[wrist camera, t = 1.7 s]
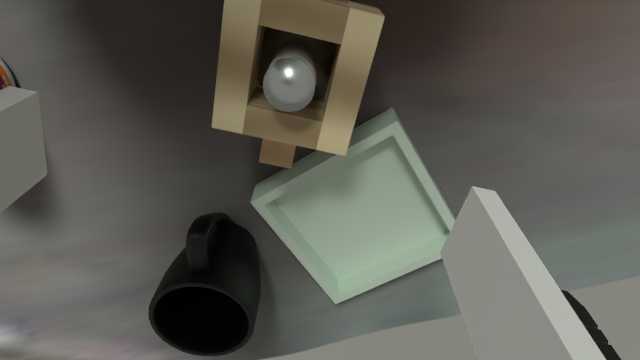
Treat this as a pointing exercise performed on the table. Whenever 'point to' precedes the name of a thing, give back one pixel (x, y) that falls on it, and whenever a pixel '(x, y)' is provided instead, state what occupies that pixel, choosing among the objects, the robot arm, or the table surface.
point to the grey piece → (294, 68)
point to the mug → (209, 290)
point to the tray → (358, 210)
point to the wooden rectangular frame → (317, 117)
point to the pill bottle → (5, 76)
